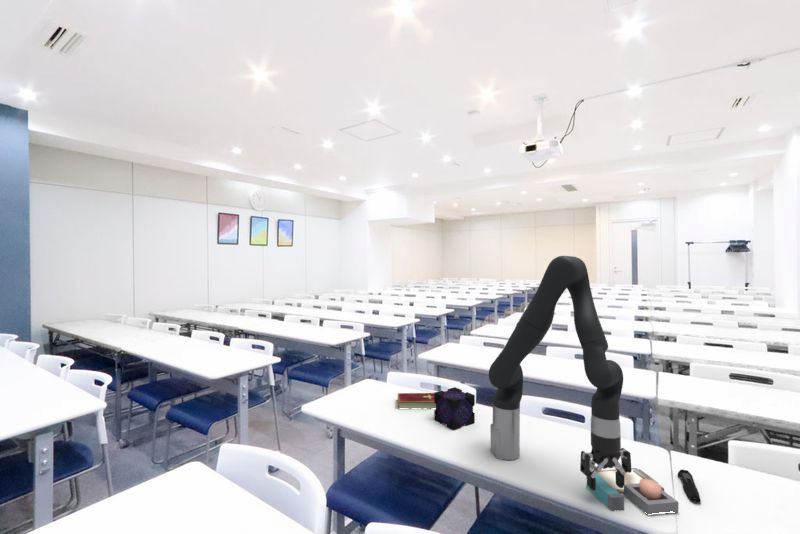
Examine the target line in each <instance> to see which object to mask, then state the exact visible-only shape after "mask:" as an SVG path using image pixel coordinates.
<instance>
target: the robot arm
mask: <svg viewBox="0 0 800 534" xmlns="http://www.w3.org/2000/svg"><path fill="white" fill-rule="evenodd" d="M566 289H567V291H568V293H569V295H570V298H571V301H572V306H573V308H572V309H573V322H574V328H575V332H576V335H577V338H578V341H579V343H580V346H581V349H582V359H583V368H584V373H585V376H586V377H587V380H588V381H589V382H590V384H591V385H592V386H594V387H595V388H596V391H595V392H594V394H593V395H592V396H591V403H590V406H591V407H590V413H591V416H590V445H591V451H590V452H585V451H584V450H581V451H580V464H579V465H580V466H579V467H580V468H579V470H580V472H581V473H582V474H583V475H585V476H586V477H587V479H586V486H587V485H588V486H589V488H590V489H591V490H593V491H594V490H596V478H595V476H596V475H597V473H598V472H600V471H602V470H607V469H613V468H615V469H616V470H617V472H616V485H617V486H618V487H619V488H623V486H624V484H625V482H624V475H625V474H626V473H627V472H629V473H630V472H631V471H632V470H631V468H632V461H631V460H632V458H631V457H632V456H631V452H630V451H629V450H628V449H626V448H624V447H621V446H622V445H621V444H622V443H621V442H622V441H621V439H622V438H621V437H622V436H621V421H620V399H621V396H622V390H623V385H624V374H623V373H624V372H623V369H622V367H621V365H619V364H618V363H617V362H616V361H614V360H612V359H607V357H606V352H607V350H608V349H609V343H608V340H607V339H606V335H605V332H604V329H603V326H602V323H601V322H600V319H599V315H598V313H597V309H596V306H595V302H594V298H593V293H592V289H591V284H590V279H589V272H588V268H587V265H586V263H585V261H583V260H582V259H581V258H580V257H577V256H573V255H558V256H557V257H554V258H553V259H552V260H551V261H550V262H549V264H548V265H547V267H546V270H545V272H544V274H543V276H542V278H541V280H540V283H539V285H538V288H537V289H536V292H535V293H534V295H533V296H532V298H531V300H530V302H529V303H528V305H527V306H526V308H525V310H524V311H523V313H522V315H521V317H520V318H519V320H518V322H517V324H516V326H515V327H514V329H513V331H512V332H511V334H510V337H509V338H508V340H507V341H506V344H505V346H504V347H503V349H502V350H501V352H500V353H499V354H498V356H497V357H496V358H495V359H494V360H493V362H492V364H491V365H490V367H489V370H488V381H489V382H490V384H491V385H492V386H493V387H495V388H497V389H496V391H495V392H494V394H493V396H492V423H490V451H491V452H492V454H493V455H494V457H495V458H496V459H500V460H506V461H514V460H517V459H519V458H520V454H521V453H520V452H521V450H520V449H521V448H520V446H521V445H520V443H521V439H520V438H521V437H520V436H521V435H520V431H521V428H520V425H521V424H520V423H521V417H520V416H521V412H520V411H521V410H520V409H521V406H520V405H521V401H522V398H523V389H524V388H523V386H524V373H523V368H522V366H521V363H522V362H523V360H525V358H526V357H527V356H528V355H529V354H530V353H532V351H534V349H536V347H537V346H539V344H540V343H541V342H542V340H544V338H545V337H546V334H548V331H549V330H550V328H551V326H552V324H553V321H554V318H555V317H554V315H555V310H556V306H557V304H558V301H559V300H560V299H561V297H562V295H563V293H564V292H565V291H566ZM620 459H621V460H620ZM619 460H620V461H621V463H620V462H619ZM596 465H597V466H596ZM615 469H614V470H615Z"/></svg>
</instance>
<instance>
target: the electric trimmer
mask: <svg viewBox="0 0 800 534" xmlns="http://www.w3.org/2000/svg"><path fill="white" fill-rule="evenodd" d="M677 477H678V478H680V480H681V482H682V490H683V492H685V494H686V495H687V497H688V499H689V500H690V501H693V502H697V503H700V502H701V496H700V493H699V490H698V488H697V486H696V484H695V480H694V477H693V475H692V473H691V472H690V471H688V470H686V469H680V470H679V471H678V472H677Z"/></svg>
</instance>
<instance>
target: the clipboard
mask: <svg viewBox="0 0 800 534" xmlns="http://www.w3.org/2000/svg"><path fill="white" fill-rule="evenodd" d="M631 470H632V471H631V472H630V473H629V472H627V473H626V474H625V475H624V482H625V484H638V483H640V480H641V479H649V480H652V481H655V482H657V483H658V484H659V482H658V481H657V480H656V479H654V478H653V477H651V476H650V475H649V474H647V473H646V472H644V471H643V470H642V469H639V468H637V467H631ZM616 472H617V470H616V469H602V470H601V471H600V472H598V473H597V474H598V475H599V476H600V477H601V478H603V479H604V480H605V481H606V482H607V483H608V484H610V485H611V486H612V487H613V488H614V489H615V490H616V491H618V492H619V493H620V494H622V495H624V486H623V488H619V487H618V486H617V485H616ZM625 484H624V485H625ZM660 486H661V489H662V490H663V491H665V487H663V486H662V485H660Z"/></svg>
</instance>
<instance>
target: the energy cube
mask: <svg viewBox="0 0 800 534" xmlns="http://www.w3.org/2000/svg"><path fill="white" fill-rule="evenodd" d="M433 393H434V403H436V409H433V410H434V411H433V413H434V414H433V416H434V417H433V419H434V421H435V422H437V423H439V424H441V425H442V424H443V425H445V426H446V427H447V428H448V429H449V430H451V431H454V432H455V431H457V430H459V429H462V427H463V426H468V427H469V426H471V425H474V424H475V421H476V420H475V419H476V418H475V417H476V416H475V412H474V406H475V403H476V402H475V401H476V397H475V394H473V393H470V392H467V391H466V392H465V391H463V390H462V389H460V388H459V387H455V386H454V387H450V388H448V389H447V390H445V391H443V390H438V391H436V392H433Z"/></svg>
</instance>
